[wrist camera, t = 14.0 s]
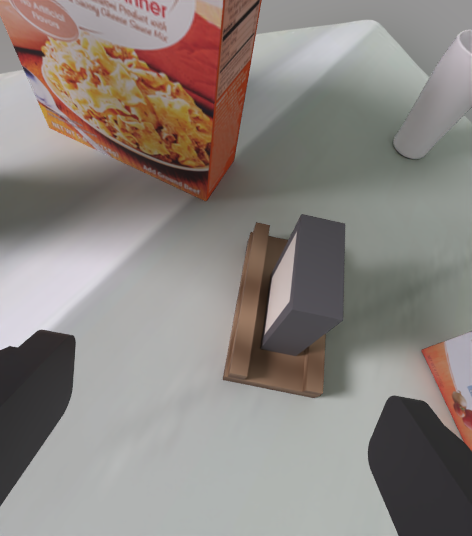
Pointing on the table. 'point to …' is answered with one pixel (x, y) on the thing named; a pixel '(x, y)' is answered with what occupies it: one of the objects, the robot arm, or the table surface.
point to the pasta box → (142, 78)
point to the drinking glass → (439, 101)
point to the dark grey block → (305, 287)
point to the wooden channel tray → (251, 327)
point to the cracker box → (454, 379)
